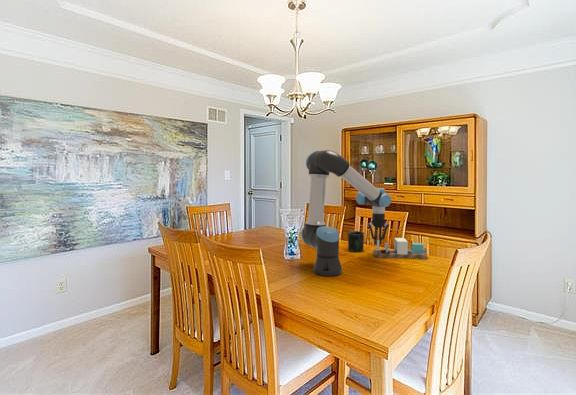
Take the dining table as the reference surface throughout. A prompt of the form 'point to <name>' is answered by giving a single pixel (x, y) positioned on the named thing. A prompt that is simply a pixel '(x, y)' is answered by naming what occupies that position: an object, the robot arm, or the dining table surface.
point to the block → (417, 247)
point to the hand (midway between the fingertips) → (377, 250)
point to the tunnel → (401, 246)
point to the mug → (355, 241)
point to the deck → (396, 255)
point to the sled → (408, 250)
